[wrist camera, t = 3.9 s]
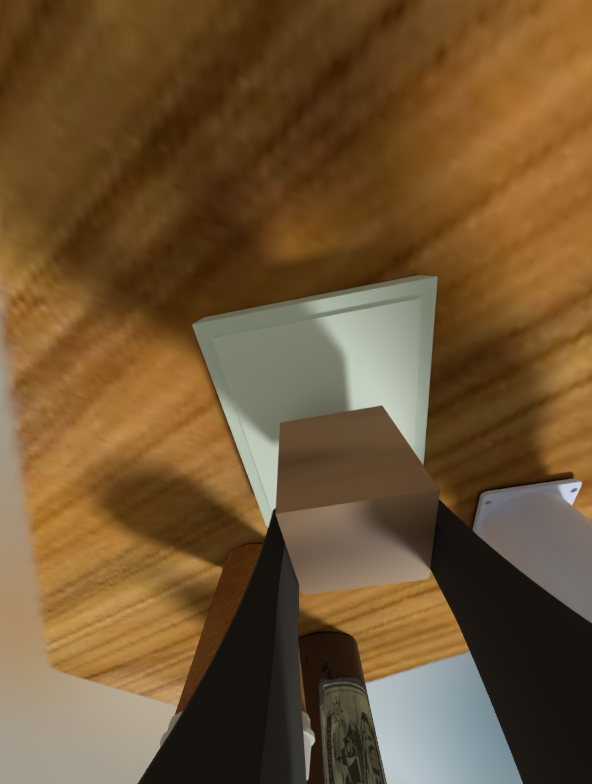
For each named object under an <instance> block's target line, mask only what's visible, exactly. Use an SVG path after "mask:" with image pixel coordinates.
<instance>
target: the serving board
mask: <svg viewBox="0 0 592 784" xmlns="http://www.w3.org/2000/svg"><path fill="white" fill-rule="evenodd" d="M437 278H438V276H422V275H416V276H411V277H406V278H401V279H396V280H391V281H386V282H380V283H375V284H370V285H365V286H360V287H355V288H350V289H345V290H340V291H335V292H330V293H325V294H320V295H315V296H309V297H304V298H299V299H294V300H289V301H284V302H279V303H274V304H269V305H264V306H259V307H254V308H249V309H243V310H238V311H233V312H228V313H223V314H218V315H213V316H208V317H204V318H202V319H200V320H199V321H197V322H195V323H194V324H192V326H193V329H194V332H195V335H196V337H197V340H198V343H199V345H200V348H201V351H202V353H203V356H204V359H205V361H206V364H207V367H208V370H209V372H210V375H211V378H212V380H213V383H214V386H215V388H216V391H217V394H218V397H219V399H220V402H221V405H222V407H223V410H224V413H225V415H226V418H227V421H228V424H229V426H230V429H231V432H232V434H233V437H234V440H235V442H236V445H237V448H238V450H239V453H240V456H241V459H242V461H243V464H244V467H245V469H246V472H247V475H248V477H249V480H250V483H251V486H252V488H253V491H254V494H255V496H256V499H257V502H258V504H259V507H260V510H261V513H262V515H263V518H264V521H265V523H266V526H267V527H269V523H270V520H271V516H272V512H273V510H274V509H275V508H276V493H277V473H278V452H279V432H280V423H281V422H287V421H293V420H299V419H305V418H311V417H316V416H322V415H328V414H334V413H340V412H346V411H352V410H358V409H363V408H369V407H375V406H381V405H382V406H383V407H384V409H385V410H386V411H387V413H388V414H389V416H390V417H391V419H392V420H393V422H394V423H395V425H396V426H397V428H398V429H399V430H400V432H401V433H402V435H403V436H404V438H405V439H406V441H407V442H408V444H409V445H410V446H411V448H412V449H413V451H414V452H415V454H416V455H417V457H418V458H419V460H420V461H421V463H422V464H423V465H424V454H425V440H426V427H427V413H428V400H429V386H430V373H431V359H432V346H433V332H434V319H435V305H436V291H437Z"/></svg>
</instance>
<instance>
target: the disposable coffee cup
mask: <svg viewBox="0 0 592 784" xmlns="http://www.w3.org/2000/svg"><path fill="white" fill-rule="evenodd" d="M262 546H263V544H248V545H244V546H240V547H238V548H236V549H234V550H233V551H231V552H230V553H229V555H228V556H227V558H226V561H225V564H224V568H223V571H222V574H221V577H220V580H219V583H218V586H217V589H216V592H215V595H214V598H213V601H212V604H211V607H210V610H209V613H208V616H207V619H206V622H205V625H204V628H203V631H202V634H201V637H200V640H199V643H198V646H197V649H196V652H195V655H194V659H193V662H192V665H191V668H190V671H189V674H188V677H187V680H186V683H185V686H184V689H183V692H182V695H181V698H180V701H179V704H178V707H177V710H176V713H175V716H173V717H172V719H171V721H170V724H169V728H168V731H167V732H166V733H164V735H163V736H162V738H161V741H160V746H162V744H163V743H164V741H165V740H166V738H167V736H168V735H169V733H170V732H171V730H172V729H173V727H174V725H175V724H176V722H177V720H178V719H179V717H180V715H181V714H182V712H183V710H184V708H185V707H186V705H187V703H188V701H189V700H190V698H191V696H192V694H193V693H194V691H195V689H196V687H197V686H198V684H199V682H200V681H201V679H202V677H203V675H204V674H205V672H206V670H207V668H208V666H209V664H210V663H211V661H212V659H213V657H214V655H215V653H216V651H217V649H218V647H219V645H220V643H221V641H222V639H223V637H224V636H225V634H226V632H227V630H228V628H229V625H230V623H231V621H232V619H233V617H234V615H235V613H236V611H237V608H238V606H239V604H240V602H241V600H242V597H243V595H244V593H245V590H246V588H247V585H248V583H249V580H250V578H251V576H252V573H253V571H254V568H255V565H256V563H257V560H258V557H259V554H260V551H261V549H262ZM298 648H299V645H298ZM299 667H300V686H301V702H302V719H303V735H304V750H305V765H306V779H307V780H308V778H309V767H310V754H311V746H312V745H313V744H314V742H315V736H314V732H313V731H312V730H311V726H310V719H309V717H308V714H307V713H306V706H305V696H304V689H303V680H302V672H301V663H300V654H299Z"/></svg>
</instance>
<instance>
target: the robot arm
mask: <svg viewBox="0 0 592 784" xmlns="http://www.w3.org/2000/svg"><path fill="white" fill-rule="evenodd" d="M581 486H582V482H581V481H579V480H578V479H576V478H573V479H566V480H559V481H552V482H546V483H539V484H532V485H525V486H518V487H511V488H505V489H498V490H491V491H485V492H483V493H482V494H481V495H480V499H479V504H478V508H477V512H476V516H475V521H474V525H473V529H472V530H471V529H470V528H469V527H468V526H467V525H466V524H465V523H464V522H463V521H461V520H460V519H459V518H458V517H457V516H456V515H455V514H454V513H453V512H452V511H451V510H450V509H449V508H448V507H447V506H446V505H445V504H444V503H442V502H441V501H440V500H439V501H438V509H437V517H436V526H435V534H434V542H433V551H432V559H431V567H430V569H431V571H432V573H433V575H434V577H435V579H436V581H437V583H438V585H439V587H440V589H441V591H442V593H443V595H444V596H445V598H446V600H447V602H448V604H449V606H450V608H451V610H452V612H453V614H454V616H455V618H456V620H457V623H458V625H459V627H460V629H461V631H462V634H463V636H464V638H465V641H466V643H467V645H468V648H469V650H470V652H471V655H472V657H473V659H474V662H475V664H476V666H477V669H478V671H479V674H480V676H481V679H482V681H483V683H484V685H485V688H486V691H487V693H488V695H489V698H490V700H491V703H492V705H493V708H494V710H495V713H496V715H497V718H498V720H499V723H500V725H501V728H502V730H503V733H504V735H505V738H506V740H507V743H508V745H509V748H510V750H511V753H512V755H513V758H514V761H515V763H516V766H517V769H518V771H519V774H520V776H521V779H522V782H523V784H592V522H591V521H590V520H589V519H588V518H586V517H585V516H584V515H583V514H582V513H580V512H579V511H578V510H577V509H576V508H574V507H573V506H572V504H573V502H574V500H575V498H576V496H577V494H578V492H579V490H580V488H581ZM298 616H299V583H298V580H297V577H296V574H295V571H294V568H293V565H292V562H291V559H290V556H289V553H288V550H287V547H286V544H285V541H284V538H283V535H282V532H281V529H280V526H279V523H278V520H277V517H276V508H275V509H274V510H273V512H272V516H271V520H270V523H269V527H268V530H267V534H266V537H265V540H264V543H263V546H262V549H261V551H260V554H259V557H258V560H257V563H256V565H255V568H254V571H253V573H252V576H251V578H250V580H249V583H248V585H247V588H246V590H245V593H244V595H243V597H242V600H241V602H240V604H239V606H238V608H237V611H236V613H235V615H234V617H233V619H232V621H231V623H230V625H229V628H228V630H227V632H226V634H225V636H224V637H223V639H222V641H221V643H220V645H219V647H218V649H217V651H216V653H215V655H214V657H213V659H212V661H211V663H210V664H209V666H208V668H207V670H206V672H205V674H204V675H203V677H202V679H201V681H200V682H199V684H198V686H197V687H196V689H195V691H194V693H193V694H192V696H191V698H190V700H189V701H188V703H187V705H186V707H185V708H184V710H183V712H182V714H181V715H180V717H179V719H178V720H177V722H176V724H175V725H174V727H173V729H172V730H171V732H170V733H169V735H168V736H167V738H166V740H165V741H164V743H163V744H162V746H161V748H160V749H159V751H158V752H157V754H156V756H155V757H154V759H153V761H152V762H151V764H150V765H149V767H148V768H147V770H146V772H145V773H144V775H143V776H142V778H141V780H140V781H139V783H138V784H307V779H306V765H305V750H304V735H303V719H302V702H301V686H300V667H299V648H298Z"/></svg>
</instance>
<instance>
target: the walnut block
mask: <svg viewBox="0 0 592 784" xmlns="http://www.w3.org/2000/svg"><path fill="white" fill-rule="evenodd" d="M439 493H440V489H439V487H438V486H437V484H436V483H435V481H434V480H433V479H432V477H431V476H430V474H429V473H428V471H427V470H426V468H425V467H424V465H423V464H422V463H421V461H420V460H419V458H418V457H417V455H416V454H415V452H414V451H413V449H412V448H411V446H410V445H409V444H408V442H407V441H406V439H405V438H404V436H403V435H402V433H401V432H400V430H399V429H398V428H397V426H396V425H395V423H394V422H393V420H392V419H391V417H390V416H389V414H388V413H387V411H386V410H385V409H384V407H383V406H382V405H381V406H375V407H369V408H363V409H358V410H352V411H346V412H340V413H334V414H328V415H322V416H316V417H311V418H305V419H299V420H293V421H287V422H281V423H280V432H279V452H278V473H277V493H276V517H277V520H278V523H279V526H280V529H281V532H282V535H283V538H284V541H285V544H286V547H287V550H288V553H289V556H290V559H291V562H292V565H293V568H294V571H295V574H296V577H297V580H298V583H299V586H300V589H301V592H302V595H309V594H317V593H325V592H332V591H340V590H348V589H355V588H363V587H371V586H378V585H386V584H394V583H401V582H409V581H417V580H424V579H429V575H430V567H431V559H432V551H433V542H434V534H435V526H436V517H437V509H438V501H439Z"/></svg>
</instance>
